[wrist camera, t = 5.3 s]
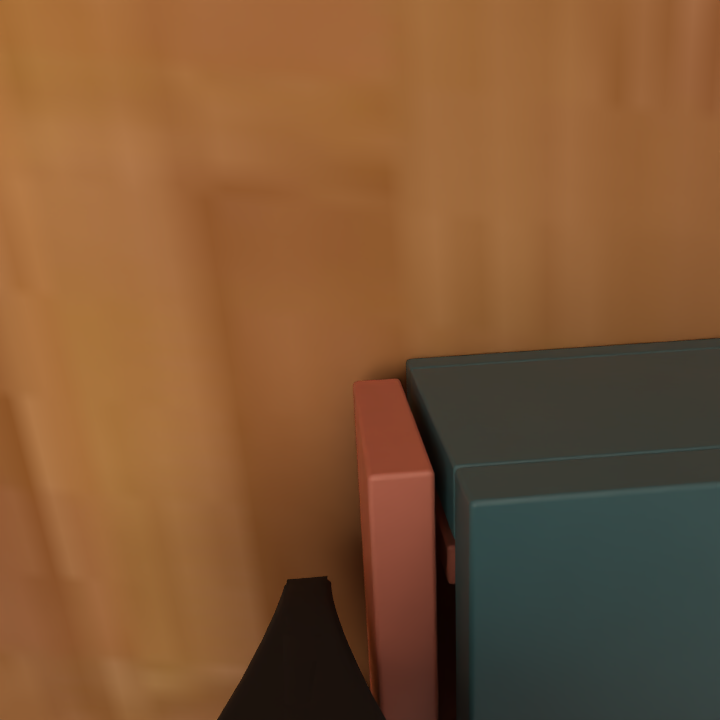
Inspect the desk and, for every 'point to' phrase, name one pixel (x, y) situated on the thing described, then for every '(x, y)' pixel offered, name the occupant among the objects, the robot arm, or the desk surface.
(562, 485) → the teal drawer box
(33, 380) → the desk surface
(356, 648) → the desk surface
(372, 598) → the drawer
